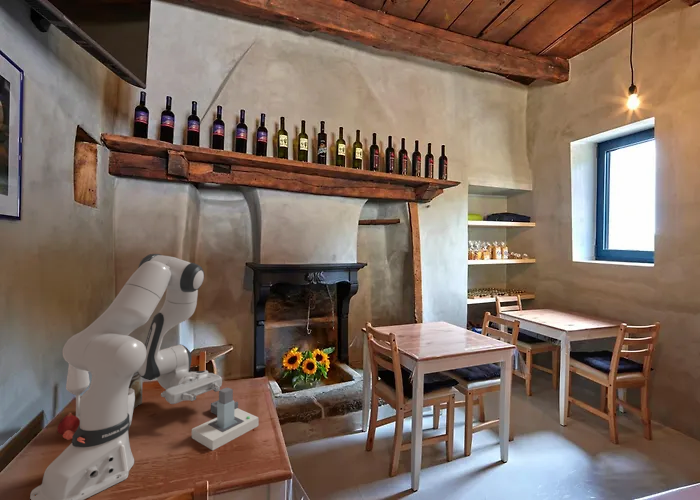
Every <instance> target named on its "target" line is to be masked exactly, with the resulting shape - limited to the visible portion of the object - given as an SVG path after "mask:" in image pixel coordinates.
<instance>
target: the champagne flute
mask: <svg viewBox="0 0 700 500" xmlns="http://www.w3.org/2000/svg"><path fill="white" fill-rule="evenodd" d="M89 373H90V372H89V371H85V370H80V369H77V368H75V367H73V366H72V365H70V364H69V363H68V368H67V375H66V385H65V388H66V391H67V392H69V393H70V394H72V395H74V396H75V416H76V417H78V418H79V420H80V398H81V394H84V393H85V392H86V391H87V390H88V388H89V387H90V383H91V381H90V374H89Z"/></svg>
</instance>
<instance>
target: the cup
mask: <svg viewBox="0 0 700 500" xmlns="http://www.w3.org/2000/svg"><path fill="white" fill-rule="evenodd" d="M134 402H135V393H134V389H131V388H129V389H128V414H129V421H130V426H131V425H132V420H133V413H134V409H135V408H134ZM133 408H134V409H133Z"/></svg>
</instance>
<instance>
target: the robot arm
mask: <svg viewBox="0 0 700 500" xmlns="http://www.w3.org/2000/svg"><path fill="white" fill-rule="evenodd" d="M204 280H205V271H204V269H203V268H202V266H201V265H199V264H197V263H195V262H189V261H187V260H183V259H181V258H178V257H174V256H170V255H162V254H160V253H150V254H147V255H146V256H144V257H143V258H142V259H141V260H140V262H139V264H138V266H137V269H136V270H135V271H134V272H133V273H132V275H130V277H129V278H128V280H126V282H125V284H124V285H123V287H122V288H121V289H120V291H119V293H118V294H117V295H116V297H115V298H114V299H113V301H112V303H110V305H109V306H108V307H107V309H105V311H104V312H103V313H101V315H99V316H98V317H97V318H96V319H95V320H94V321H92V323H91V324H90V325H89V326H87V327H86V328H84V329H83V330H81V331H80V332H78V333H75V334H73V335H72V336H70V337H69V338H68V339H67V340H66V341H65V343H64V345H63V347H62V358H63V359H64V361H65V362H66V363H68V365H69V364H70V365H72V366H73V367H75V368H77V369H80V370H85V371H88V373H90V374H91V380H90V384H89V386H88V388H87V389H86V390H85V391H84V392H83V393H82V395H80V425H79V426H78V428H77V430H76V432H75V433H74V432H72V431H71V430H67V431H66V432H65V433H64V434H63V436H62V438H64V439H66V440H67V441H70V440H71V443H70V444H69V445H68V446H67V447H66V448H65V449H64V450H63V451H62V452H61V453H60V454H59V455H58V456H57V457H56V458H55V459H53V461H51V463H49V465H48V466H47V468H46V469H45V471H44V474H43V477H42V482H41V484H40V485H38V486H36V487H35V488H33V489H32V490H31V492H30V497H29V500H30V499H31V500H86V499H87V498H91V497H92V496H94V495H96V494H98V493H100V492H103V491H105V490H106V489H109V488H110V487H112V486H114V485H117V484H118V483H121V482H123V481H125V480H127V478H128V477H129V473H130V470H131V468H132V467H133V466H134V464H135V458H134V455H133V453H132V450H131V444H130V439H129V432H130V427H131V425H130V421H129V414H128V389H129V385H130V382H131V379H132V376H133V375H134V373H135V372H136V371H138V374H139V375H140V376H141V377H142V379H145V380H148V381H153V380H155V379H157V382H158V383H159V385H160V386H161V387H162V388H163V389H165V390H164V391H162V392H161V393H160V396H161V397H162V398H165V401H166V402H167V403H168V404H171V405H175V404H179V403H181V402H183V401H191V402H193V401H196V400H197V396H200V395H203V394H205V393H208V392H211V391H212V390H213V391H214V392H215V393H216V392H219V390H221V388H220V387H222V386H223V385H222V384H223V378H222V377H221V376H220V375H218V374H216V373H213V372H209V371H208V370H207V369H206V370H198V371H190V369H191V365H192V353H191V351H190V350H189V349H188V347H186V346H185V345H184V344H177V345H171V346H170V347H167V348H163V349H161V346H162V343H163V340H164V336H165V335H166V334H167V333H168V331H170V330H171V329H173V328H174V327H176V326H178V325H179V324H181V323H183V322H185V321H187V320H188V319H190V318H191V317H192V316H193V315H194V314H195V311H196V308H197V304H198V295H199V289H200V288H201V286H202V285H203V284H204ZM165 292H166V293H165ZM164 293H165V300H164V302H163V305H162V307H161V309H160V310H159V312H157V313H156V314H155V315H154V316H153V318H152V320H151V324H150V327H149V329H148V334H147V337H146V339H145V340H146V341H145V343H143V342H142V341H140V340H139V339H136V338H135V337H133V336H131V335H130V334H131V333H133V332H134V331H135V330H137V329H138V328H140V327H143V326H144V325H145V324H147V322H148V321H149V320H150V319H151V318H150V317H151V316H152V314H153V313H154V311H155V310H156V308H157V307H158V305H159V303H160V301H161V300H162V298H163V296H164ZM35 495H36V496H35Z"/></svg>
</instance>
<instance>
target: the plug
mask: <svg viewBox="0 0 700 500" xmlns="http://www.w3.org/2000/svg"><path fill="white" fill-rule="evenodd" d="M233 396H234V389H232V388H230V387H225V388H220V390H219V391H218V400H219V402H217V415H216V416H217V417H216V418H217V426H219V427H221V428H223V429H225V428H227V427H229V426H231V425H233V424H234V403H235V400H234V397H233Z"/></svg>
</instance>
